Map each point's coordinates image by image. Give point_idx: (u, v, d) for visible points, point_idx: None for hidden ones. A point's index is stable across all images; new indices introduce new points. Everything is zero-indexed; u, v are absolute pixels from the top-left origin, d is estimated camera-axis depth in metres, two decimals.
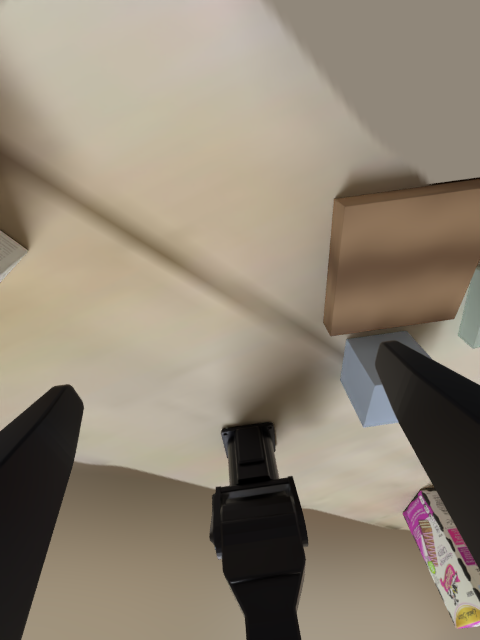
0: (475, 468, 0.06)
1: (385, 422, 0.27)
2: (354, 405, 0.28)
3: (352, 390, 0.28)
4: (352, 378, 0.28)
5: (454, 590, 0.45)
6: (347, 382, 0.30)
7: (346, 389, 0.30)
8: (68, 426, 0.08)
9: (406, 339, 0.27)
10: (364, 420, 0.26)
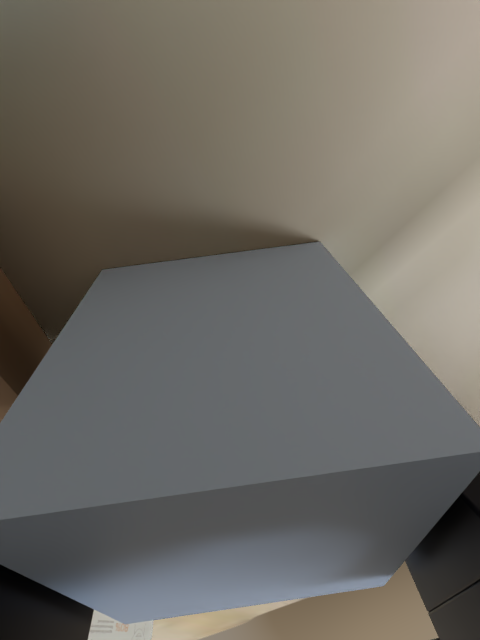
0: None
1: (389, 561, 0.05)
2: None
3: None
4: None
5: None
6: None
7: None
8: None
9: None
10: (337, 588, 0.07)
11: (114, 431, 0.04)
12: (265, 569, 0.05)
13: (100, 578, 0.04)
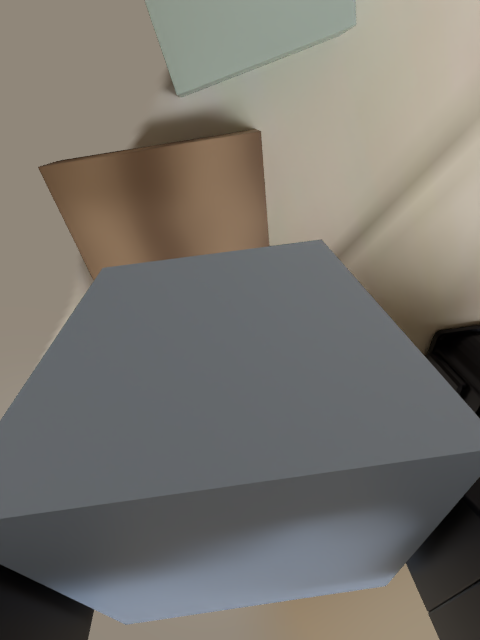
0: None
1: (392, 561, 0.05)
2: None
3: None
4: None
5: None
6: None
7: None
8: None
9: None
10: (339, 588, 0.07)
11: (116, 429, 0.04)
12: (267, 568, 0.05)
13: (101, 578, 0.04)
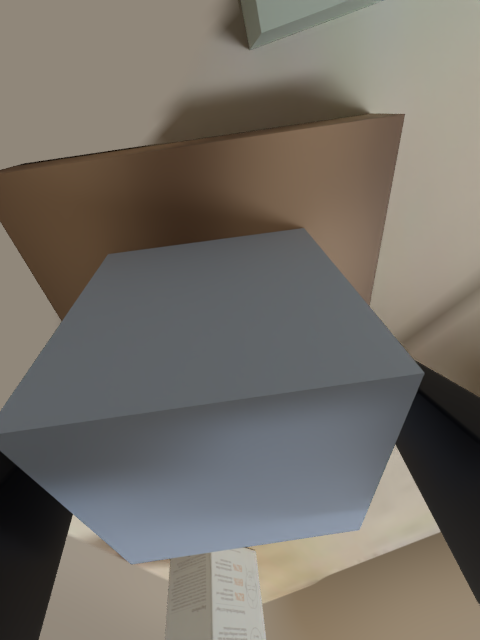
0: (456, 471, 0.06)
1: (359, 498, 0.06)
2: None
3: None
4: None
5: None
6: None
7: None
8: None
9: None
10: (318, 532, 0.08)
11: (124, 371, 0.05)
12: (251, 499, 0.06)
13: (112, 502, 0.05)
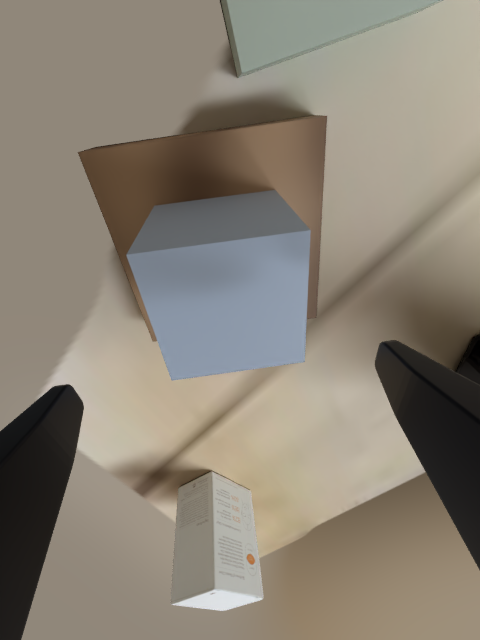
0: (475, 468, 0.06)
1: (298, 326, 0.12)
2: None
3: None
4: None
5: None
6: None
7: None
8: (68, 426, 0.08)
9: None
10: (280, 364, 0.13)
11: (180, 238, 0.10)
12: (239, 319, 0.11)
13: (170, 312, 0.11)
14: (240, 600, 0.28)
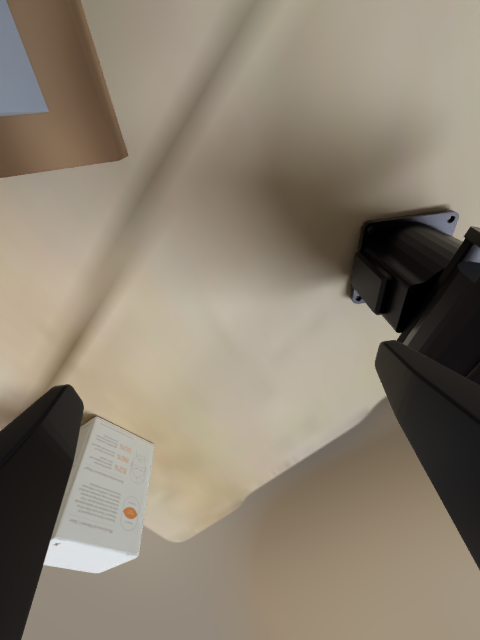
0: (475, 468, 0.06)
1: None
2: None
3: None
4: None
5: None
6: None
7: (18, 113, 0.12)
8: (68, 426, 0.08)
9: None
10: None
11: None
12: None
13: None
14: (106, 557, 0.24)
